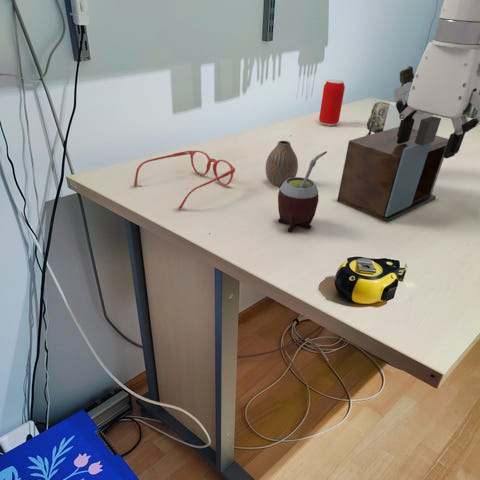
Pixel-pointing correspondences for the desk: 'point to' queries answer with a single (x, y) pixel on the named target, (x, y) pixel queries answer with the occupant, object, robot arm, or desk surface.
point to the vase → (281, 164)
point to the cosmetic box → (394, 120)
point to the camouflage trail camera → (386, 105)
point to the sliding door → (412, 166)
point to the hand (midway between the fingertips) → (424, 149)
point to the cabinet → (385, 173)
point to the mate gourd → (298, 200)
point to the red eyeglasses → (195, 170)
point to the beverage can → (331, 102)
